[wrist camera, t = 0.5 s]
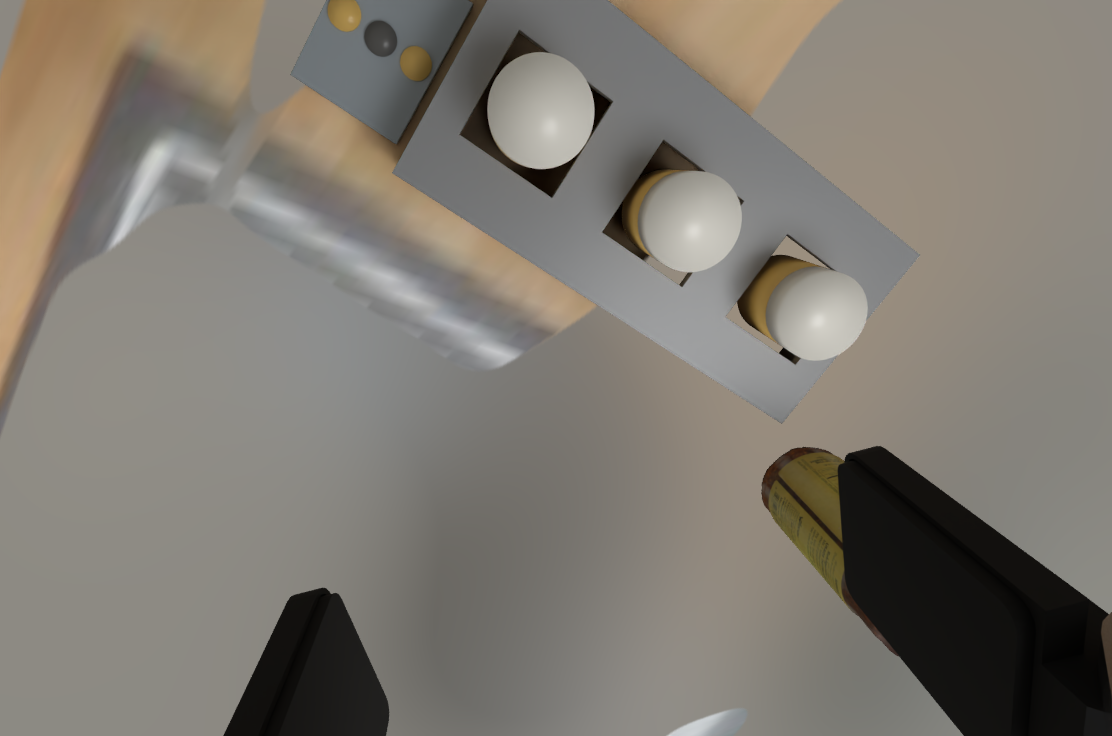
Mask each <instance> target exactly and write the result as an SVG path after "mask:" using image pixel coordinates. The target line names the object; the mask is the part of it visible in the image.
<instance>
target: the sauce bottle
mask: <svg viewBox="0 0 1112 736" xmlns="http://www.w3.org/2000/svg"><path fill="white" fill-rule="evenodd" d="M842 463H845V461H843V460H842V459H841V458H839V457H837V456H835V455H833V454H832V453H830V452H829V451H826V450H822V449H819V448H810V447H802V448H795V449H791V450H790V451H788V452H787V453H785V454H783V455H782V456H781V457H779V458H778V459H777V460H776V461H775V462H774V463H773V464H772V465H771V466H770V467H769V468H768V469H767V471H766V473H765V475H764V478H763V482H762V500H763V503H764V505H765V507H766V508H767V509H768V510H769V512H770V513H771V515H772V517H773V519H774V520H775V522H776V523H777V524H778V525H779V526H780V528H781V529H782V530H783V531H784V532H785V534H786V535H787V536H788V537H789V538H790V540H791V541H792V542H793V543H794V544H795V545H796V546H797V548H798V549H799V550H800V551H801V552H802V554H803V555H804V556H805V557H806V558H807V559H808V561H809V562H810V563H811V564H812V565H813V566H814V567H815V569H816V570H817V571H818V572H819V573H820V575H821V576H822V577H823V578H824V579H825V581H826V582H827V583H828V584H829V585H830V586H831V588H832V589H833V590H834V591H835V592H836V593H837V594H838V596H839V597H840V598H841V599H842V601H843V602H844V603H845V604H846V605H847V607H848V608H849V609H850V610H851V611H852V612H853V613H855V614H856V615H857V616H859V617H860V618H861V619H862V620H863V622H864V623H865V624H866V625H867V627H868V628H869V629H870V630H871V631H872V633H873V634H874V635H875V636H876V637H877V638H878V639H879V640H880V641H882V642H883V644H884V645H885V646H886V647H887V648H888V649H889V650H890V651H891V652H893V653H894V654H895V655H897V656H899V655H898V654H897V653H896V652H895V650H894V649H893V648H892V647H891V646H890V644H889V643H888V642H887V641H886V639H885V638H884V637H883V636H882V634H881V633H880V632H879V631H878V630H877V628H876V627H875V626H874V625H873V623H872V622H871V621H870V620H869V619H868V617H867V616H866V615H865V614H864V612H863V611H862V610H861V609H860V607H859V606H858V605H857V604H856V603H855V601H854V600H853V598H852V597H851V595H850V593H849V591H848V589H847V586H846V582H845V573H844V558H843V544H842V530H841V515H840V501H839V486H838V466H839V465H840V464H842Z"/></svg>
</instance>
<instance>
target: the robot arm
mask: <svg viewBox="0 0 1112 736" xmlns="http://www.w3.org/2000/svg"><path fill="white" fill-rule="evenodd" d="M838 486H839V501H840V515H841V530H842V544H843V558H844V573H845V582H846V586H847V589H848V591H849V593H850V595H851V597H852V598H853V600H854V601H855V603H856V604H857V605H858V606H859V607H860V609H861V610H862V611H863V612H864V614H865V615H866V616H867V617H868V619H869V620H870V621H871V622H872V623H873V625H874V626H875V627H876V628H877V630H878V631H879V632H880V633H881V634H882V636H883V637H884V638H885V639H886V641H887V642H888V643H889V644H890V646H891V647H892V648H893V649H894V650H895V652H896V653H897V654H898V655H899V657H900V658H901V659H902V660H903V661H904V663H905V664H906V665H907V666H908V668H909V669H910V670H911V671H912V673H913V674H914V675H915V676H916V677H917V679H918V680H919V681H920V682H921V683H922V685H923V686H924V687H925V689H926V690H927V691H928V692H929V693H930V694H931V696H932V697H933V698H934V700H935V701H936V702H937V703H938V704H939V706H940V707H941V708H942V709H943V711H944V712H945V713H946V714H947V716H948V717H949V718H950V719H951V720H952V722H953V723H954V724H955V725H956V727H957V728H958V729H959V730H960V732H961V733H962V734H963V735H964V736H1112V612H1111V613H1110V614H1108V613H1106V612H1105V611H1104V610H1103V609H1101V608H1100V607H1098V606H1097V605H1096V604H1094V603H1093V602H1092V601H1090V600H1089V599H1088V598H1087V597H1085V596H1084V595H1083V594H1081V593H1080V592H1078V591H1077V590H1076V589H1074V588H1073V587H1072V586H1070V585H1069V584H1068V583H1066V582H1065V581H1064V580H1062V579H1061V578H1060V577H1058V576H1057V575H1056V574H1054V573H1053V572H1051V571H1050V570H1049V569H1047V568H1045V566H1043V565H1042V564H1040V563H1039V562H1038V561H1037V560H1035V559H1034V558H1033V557H1031V556H1030V555H1028V554H1027V553H1026V552H1024V551H1023V550H1022V549H1020V548H1019V547H1018V546H1016V545H1015V544H1013V543H1012V542H1011V541H1009V540H1008V539H1007V538H1005V537H1004V536H1003V535H1001V534H1000V533H999V532H997V531H996V530H995V529H993V528H992V527H991V526H989V525H988V524H986V523H985V522H984V521H982V520H981V519H980V518H978V517H977V516H976V515H974V514H973V513H971V512H970V511H969V510H967V509H966V508H965V507H963V506H962V505H961V504H959V503H958V502H957V501H955V500H954V499H953V498H951V497H950V496H949V495H947V494H946V493H945V492H943V491H942V490H940V489H939V488H938V487H936V486H935V485H934V484H932V483H931V482H930V481H928V480H927V479H926V478H924V477H923V476H921V475H920V474H918V473H917V472H916V471H914V470H913V469H912V468H911V467H909V466H908V465H907V464H905V463H904V462H903V461H901V460H900V459H899V458H897V457H896V456H894V455H893V454H892V453H890V452H889V451H888V450H886V449H885V448H883V447H881V446H876V447H872V448H868V449H864V450H860V451H856V452H852V453H849V454H848V455H846V457H845V463H842V464H840V465H839V466H838ZM388 721H389V706H388V701H387V698H386V696H385V693H384V691H383V689H382V687H381V684H380V682H379V680H378V678H377V676H376V673H375V671H374V669H373V667H372V665H371V663H370V660H369V658H368V656H367V654H366V652H365V649H364V647H363V645H362V643H361V640H360V638H359V636H358V634H357V632H356V629H355V627H354V625H353V623H352V621H351V618H350V616H349V614H348V612H347V610H346V607H345V605H344V603H343V601H342V599H341V597H340V596H339V594H337V593H333V594H330V592H329V591H328V590H327V589H326V588H319V589H316V590H312V591H308V592H304V593H300V594H296V595H293V596H291V597H290V598H289V600H288V601H287V603H286V606H285V608H284V610H283V612H282V614H281V616H280V618H279V620H278V622H277V624H276V626H275V629H274V631H273V633H272V635H271V637H270V639H269V641H268V643H267V645H266V647H265V650H264V652H263V654H262V656H261V658H260V660H259V662H258V665H257V666H256V668H255V671H254V673H253V675H252V677H251V679H250V681H249V683H248V685H247V687H246V690H245V692H244V694H243V696H242V698H241V700H240V702H239V704H238V706H237V708H236V710H235V713H234V715H233V717H232V719H231V721H230V723H229V725H228V727H227V729H226V731H225V734H224V736H386V732H387V727H388Z"/></svg>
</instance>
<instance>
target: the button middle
mask: <svg viewBox="0 0 1112 736" xmlns="http://www.w3.org/2000/svg"><path fill="white" fill-rule="evenodd" d="M622 223H623V227H624V230H625V233H626V235H627V237H628V238H629V240H630V241H631V242H632V243H633V244H634V245H635V246H636V247H637V248H639V249H640V250H642V251H643V252H645V253H647V254H648V255H650V256H651V257H653V258H655V259H656V260H658V261H659V262H661V263H663V264H664V265H666V266H667V267H669V268H671V269H674V270H677V271H681V272H698V271H702V270H706V269H708V268H710V267H712V266H714V265H716V264H717V263H719V262H720V261H721V260H722V259H724V258H725V257H726V256H727V254H728V253H729V252H730V251H731V249H732V248H733V246H734V245H735V243H736V241H737V239H738V236H739V233H740V229H741V223H742V211H741V205H740V202H739V199H738V197H737V195H736V193H735V191H734V190H733V188H732V187H731V186H730V185H729V184H728V183H727V182H726V181H725V180H724V179H722V178H721V177H719V176H717V175H715V174H712V173H709V172H703V171H687V170H669V169H662V170H656V171H653V172H650V173H648V174H646V175H644V176H642V177H641V178H640V179H638V180H637V181H636V182H635V183H634V185H633V186H632V188H631V189H630V191H629V192H628V194H627V195H626V197H625V200H624V203H623V207H622Z"/></svg>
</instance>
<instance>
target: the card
mask: <svg viewBox="0 0 1112 736" xmlns="http://www.w3.org/2000/svg"><path fill="white" fill-rule="evenodd" d="M472 7H473V3H472V2H470V1H469V0H326V2H325V4H324V6H323V8H322V11H321V12H320V15H319V17H318V19H317V21H316V23H315V25H314V27H313V29H312V31H311V33H310V35H309V37H308V39H307V42H306V43H305V46H304V48H303V50H302V52H301V54H300V56H299V58H298V60H297V62H296V64H295V66H294V68H293V70H292V72H291V75H292V76H293V77H295V78H296V79H298V80H299V81H301V82H302V83H304V84H305V85H307V86H308V87H310V88H311V89H313V90H314V91H316V92H317V93H319V94H320V95H322V96H323V97H325V98H327V99H328V100H330V101H331V102H333V103H334V104H336V105H337V106H339V107H340V108H342V109H343V110H345V111H346V112H348V113H349V114H351V115H352V116H354V117H355V118H357V119H358V120H360V121H361V122H363V123H364V124H366V125H367V126H369V127H370V128H372V129H374V130H375V131H377V132H378V133H380V134H381V135H383V136H384V137H386V138H387V139H389V140H390V141H392V142H393V143H395V144H398V142H399V140H400V139H401V137H402V135H403V133H404V131H405V129H406V128H407V126H408V124H409V122H410V120H411V118H412V117H413V115H414V113H415V111H416V109H417V108H418V106H419V104H420V102H421V100H422V98H423V97H424V95H425V93H426V91H427V89H428V87H429V86H430V84H431V82H432V80H433V78H434V76H435V75H436V73H437V71H438V69H439V67H440V65H441V64H442V62H443V60H444V58H445V56H446V55H447V53H448V51H449V49H450V47H451V45H452V44H453V42H454V40H455V38H456V36H457V34H458V33H459V31H460V29H461V27H462V25H463V23H464V22H465V20H466V18H467V16H468V14H469V12H470V11H471V9H472Z"/></svg>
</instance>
